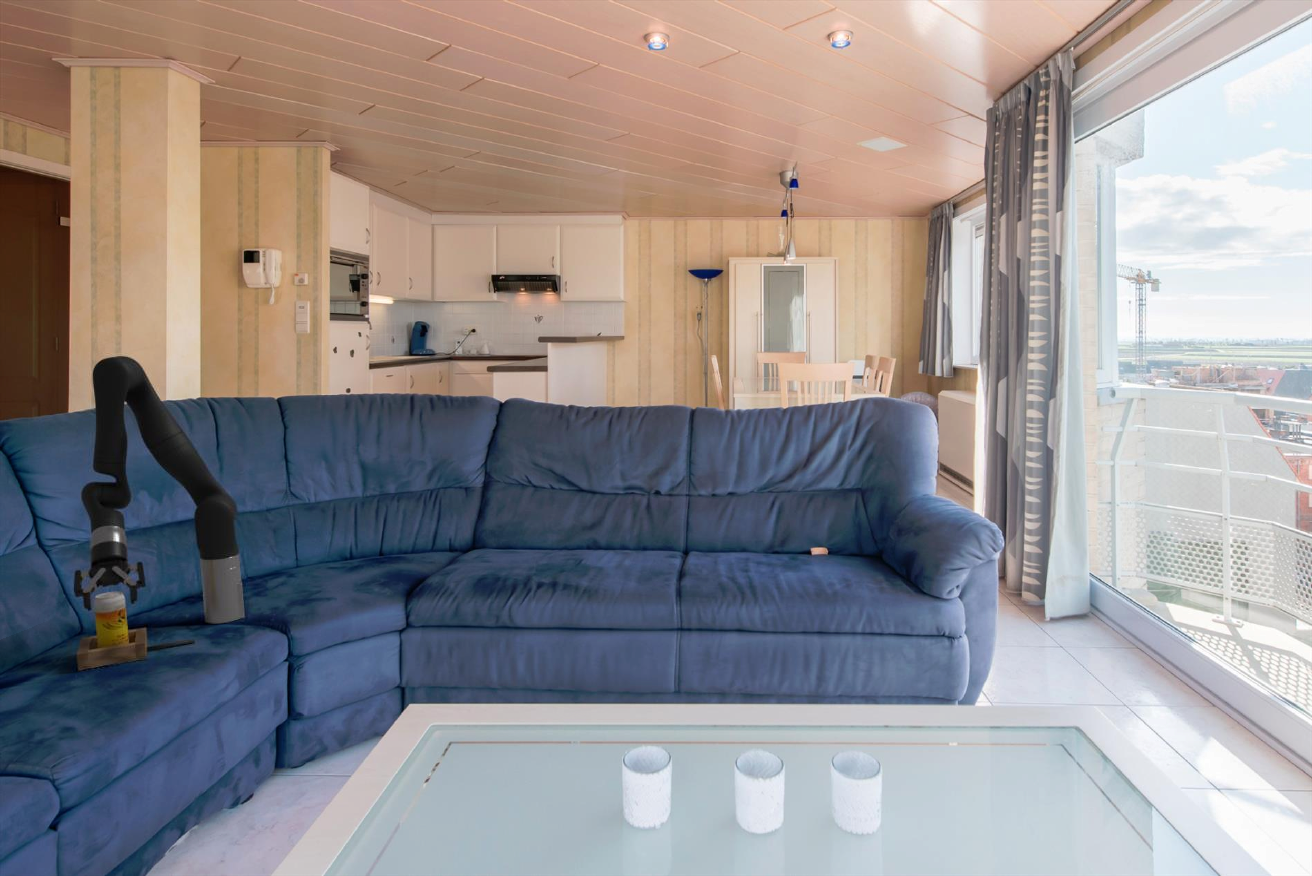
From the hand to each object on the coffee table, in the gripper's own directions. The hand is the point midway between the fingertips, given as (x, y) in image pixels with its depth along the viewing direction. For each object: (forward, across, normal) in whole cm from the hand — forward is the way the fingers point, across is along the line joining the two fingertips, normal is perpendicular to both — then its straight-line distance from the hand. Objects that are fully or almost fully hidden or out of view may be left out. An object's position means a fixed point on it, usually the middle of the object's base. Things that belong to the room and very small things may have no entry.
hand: (111, 605), depth 192 cm
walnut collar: (+10, +5, +7) cm, 13 cm away
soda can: (+10, 0, +8) cm, 12 cm away
